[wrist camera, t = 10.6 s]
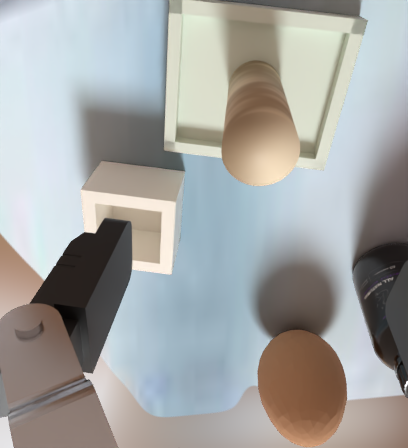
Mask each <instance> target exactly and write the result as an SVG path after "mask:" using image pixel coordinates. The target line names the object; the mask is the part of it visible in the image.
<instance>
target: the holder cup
mask: <svg viewBox="0 0 408 448" xmlns="http://www.w3.org/2000/svg"><path fill="white" fill-rule="evenodd" d="M184 179H185V171H179V170H171V169H163V168H155V167H147V166H139V165H131V164H123V163H115V162H107V161H101V163H100V164H99V165H98V167H97V168H96V169H95V171H94V172H93V173H92V175H91V176H90V178H89V179H88V180H87V182H86V183H85V184H84V186H83V187H82V188H81V200H82V210H83V220H84V230H85V232H89V233H96V231H97V229H98V228H99V226H100V224H101V223H102V221H103V219H104V218H111V219H119V220H126V221H131V224H132V270H140V271H147V272H155V273H163V274H170V275H172V271H173V267H174V263H175V258H176V254H177V250H178V246H179V242H180V235H181V221H182V207H183V193H184Z"/></svg>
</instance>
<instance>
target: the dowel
mask: <svg viewBox="0 0 408 448" xmlns="http://www.w3.org/2000/svg"><path fill="white" fill-rule="evenodd" d="M221 154H222V160H223V163H224V165H225V167H226V169H227V170H228V172H229V173H230V174H231V175H232V176H233V177H234V178H236V179H237V180H239V181H240V182H243V183H245V184H248V185H253V186H265V185H270V184H273V183H276V182H278V181H280V180H282V179H283V178H285V177H286V176H287V175H288V174H289V173H290V172H291V171H292V170H293V168H294V167H295V165H296V163H297V161H298V158H299V155H300V141H299V137H298V134H297V131H296V127H295V124H294V121H293V118H292V115H291V112H290V108H289V105H288V102H287V99H286V96H285V93H284V89H283V86H282V83H281V80H280V77H279V74H278V73H277V71H276V70H275V68H274V67H272V66H271V65H270V64H268V63H266V62H263V61H258V60H255V61H249V62H246V63H244V64H242V65H241V66H239V67H238V68H237V69H236V70H235V71H234V73H233V74H232V76H231V79H230V82H229V89H228V97H227V105H226V114H225V122H224V131H223V139H222V148H221Z"/></svg>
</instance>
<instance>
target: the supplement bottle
mask: <svg viewBox="0 0 408 448" xmlns="http://www.w3.org/2000/svg"><path fill="white" fill-rule="evenodd" d="M407 260H408V244H399V243H396V244H387V245H383V246H379V247H377V248H374V249H372V250H371V251H369V252H367V253H366V254H365V255H364V256H363V257H362V258H361V259H360V260H359V261H358V262H357V264H356V266H355V268H354V271H353V282H354V286H355V290H356V293H357V296H358V300H359V303H360V306H361V309H362V313H363V316H364V319H365V323H366V326H367V329H368V332H369V336H370V339H371V342H372V345H373V348H374V351H375V353H376V355H377V357H378V358H379V359H380V360H381V362H382V363H384V364H385V365H386V366H387V367H389V368H390V369H392V370H394V371H395V374H396V376H397V379H398V380H399V383H400V385H401V388H402V391H403V393H404V394H405V396H406V397H407V398H408V375H407V372H406V370H405V367H404V364H403V362H402V359H401V356H400V354H399V351H398V348H397V346H396V343H395V340H394V338H393V335H392V332H391V330H390V327H389V324H388V322H387V319H386V313H385V307H386V301H387V298H388V296H389V294H390V292H391V290H392V288H393V286H394V283H395V281H396V279H397V277H398V275H399V273H400V271H401V269H402V267H403V265H404V263H405V262H406V261H407Z"/></svg>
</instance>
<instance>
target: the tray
mask: <svg viewBox="0 0 408 448" xmlns="http://www.w3.org/2000/svg"><path fill="white" fill-rule="evenodd" d="M367 21H368V20H366V19H364V18H362V17H360V16H351V15H342V14H334V13H325V12H316V11H307V10H299V9H290V8H281V7H272V6H263V5H255V4H246V3H237V2H228V1H220V0H169V24H168V51H167V79H166V106H165V134H164V151H170V152H178V153H186V154H195V155H203V156H211V157H219V158H222V154H221V148H222V139H223V131H224V122H225V114H226V105H227V97H228V89H229V82H230V79H231V76H232V74H233V73H234V71H235V70H236V69H237V68H238V67H239V66H241V65H242V64H244V63H246V62H249V61H255V60H258V61H263V62H266V63H268V64H270V65H271V66H272V67H274V68H275V70H276V71H277V73H278V74H279V77H280V80H281V83H282V86H283V89H284V93H285V96H286V99H287V102H288V105H289V108H290V112H291V115H292V118H293V121H294V124H295V127H296V131H297V134H298V137H299V141H300V155H299V158H298V161H297V163H296V165H295V167H299V168H307V169H315V170H323V171H324V168H325V165H326V161H327V158H328V154H329V151H330V147H331V144H332V141H333V137H334V134H335V130H336V127H337V124H338V120H339V117H340V113H341V110H342V107H343V103H344V100H345V96H346V93H347V90H348V86H349V83H350V79H351V76H352V72H353V69H354V66H355V62H356V59H357V55H358V52H359V49H360V45H361V42H362V38H363V35H364V32H365V28H366V25H367Z"/></svg>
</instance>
